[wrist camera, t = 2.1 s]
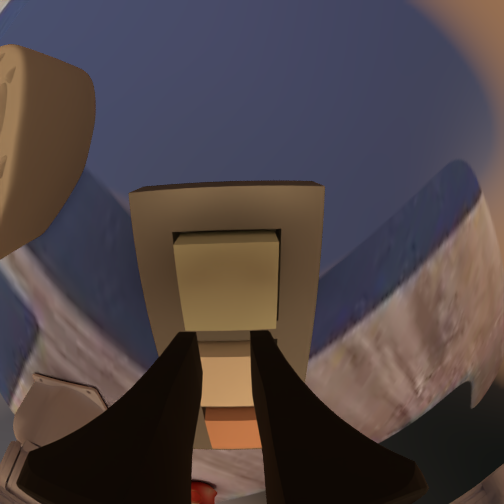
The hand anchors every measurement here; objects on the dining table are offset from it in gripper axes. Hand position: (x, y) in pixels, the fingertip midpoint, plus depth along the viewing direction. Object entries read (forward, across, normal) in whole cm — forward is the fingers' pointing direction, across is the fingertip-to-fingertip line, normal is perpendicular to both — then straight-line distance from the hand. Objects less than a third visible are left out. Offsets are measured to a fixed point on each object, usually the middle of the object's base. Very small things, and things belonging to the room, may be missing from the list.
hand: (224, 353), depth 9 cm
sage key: (+7, 0, 0) cm, 7 cm away
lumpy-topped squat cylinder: (+9, +14, -9) cm, 19 cm away
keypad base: (+8, 0, +7) cm, 11 cm away
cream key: (+7, 0, +7) cm, 10 cm away
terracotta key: (+7, 0, +14) cm, 16 cm away
